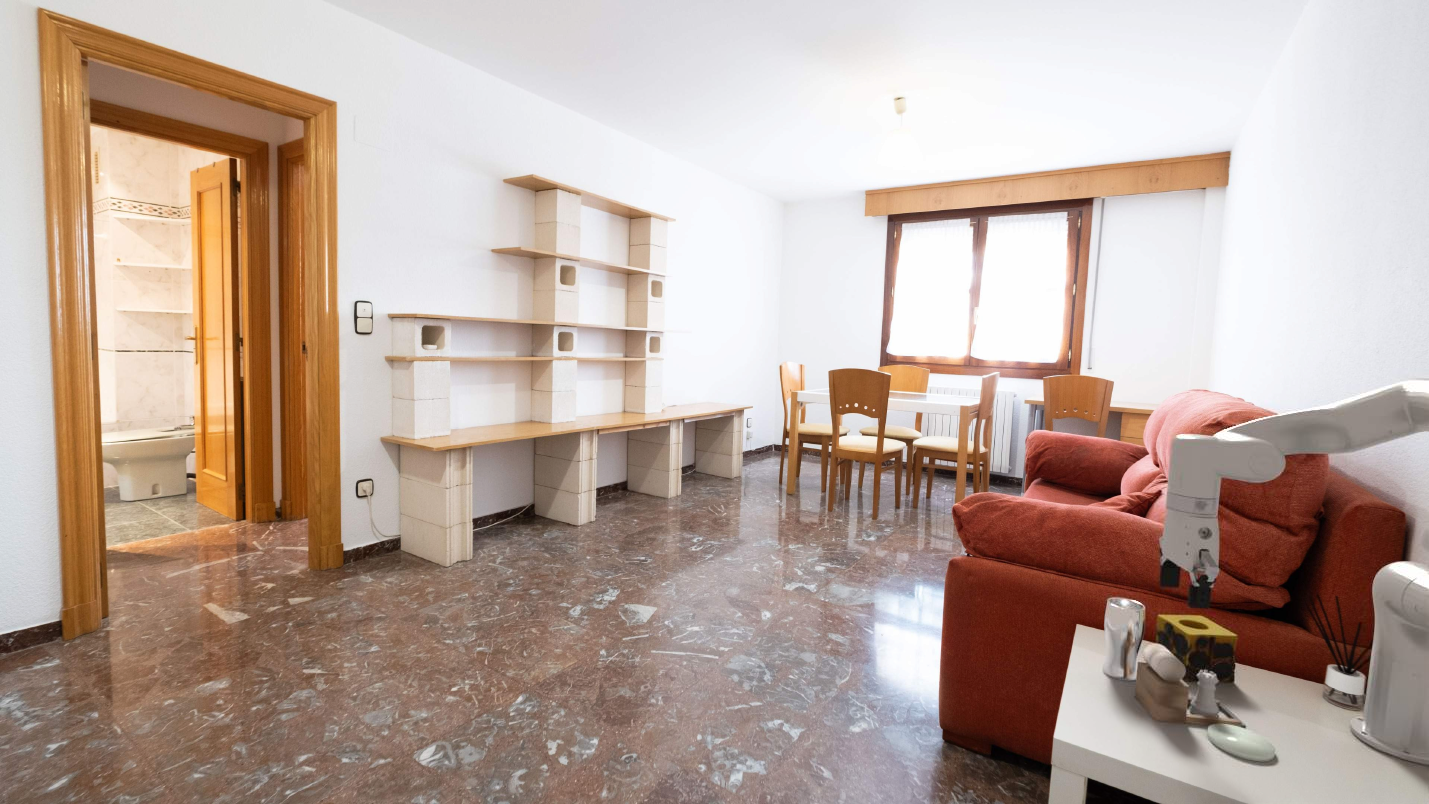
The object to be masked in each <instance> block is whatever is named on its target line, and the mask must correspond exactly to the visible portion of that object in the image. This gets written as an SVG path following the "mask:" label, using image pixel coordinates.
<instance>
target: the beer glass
mask: <svg viewBox="0 0 1429 804" xmlns="http://www.w3.org/2000/svg"><path fill="white" fill-rule="evenodd" d="M1106 601H1107V603H1106V607H1105V614H1104V624H1103V626H1104V637H1105V639H1104V640H1105V647H1106V656H1105V660H1104V663H1103V665H1102V666H1103V667H1102V671H1103V673H1105V674H1106V675H1107V676H1108V677H1110V678H1113V679H1115V680H1119V681H1122V682H1134V681H1135V682H1136V677H1137V662H1138V661H1137V660H1138V656H1139V652H1140V649H1141V646H1142V643H1143V639H1144V636H1145V629H1146V606H1145V605H1144V604H1143V603H1141V602H1139V601H1137V600H1133V599H1131V598H1127V597H1117V596H1116V597H1114V596H1113V597H1109V598H1107V600H1106Z"/></svg>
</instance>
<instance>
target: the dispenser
mask: <svg viewBox="0 0 1429 804" xmlns="http://www.w3.org/2000/svg"><path fill="white" fill-rule="evenodd" d="M1142 656H1143V659H1144V662H1143V661H1142V662H1141V661H1137V665H1136V667H1137V677H1136V680H1135V688H1134V690H1135V692H1134V698H1135V699H1136V701H1138V702H1139V703H1140V705H1141V706H1142V707H1143V708H1144V709H1145V710H1146V712H1147V713H1148V714H1149V715H1150V717H1152V719H1153V720H1154V721H1157V722H1167V723H1176V724H1177V723H1178V724H1185V725H1186V724H1191V725H1192V724H1193V725H1202V726H1210V725H1213V724H1229V725H1234V726H1238V727H1241V728H1244V729H1247V725H1246V724H1245V723H1244V722H1243V721H1242V720H1241V719H1240V718H1239V717H1237V716H1236V715H1235V714H1234V713H1233V712H1232V711H1231V710H1230V709H1229V708H1228V707H1226V706H1225V704H1223V702H1220V701H1219V700H1218V699H1216V698H1215V703H1216V704H1217V707H1218V709H1219V711H1221V712H1222V713H1223V714H1224V715H1225V716H1226V717H1220V716H1219V717H1212V716H1202V715H1194V714H1193V713H1187V712H1188V706H1189V707H1190V706H1191V704H1190V703H1191V701H1192V700H1193V699H1194V697H1195V696H1189V693H1190V686H1189V684H1188V683H1186V682H1185V680H1184V679H1182V678H1183V677H1184V675H1185V672H1186V669H1185V666H1184V664H1183V663H1182V662H1181V661H1180V660H1178V659H1177V658H1176V657H1175V656H1174V655H1173V654H1172V653H1171V652H1170V651H1169V650H1168V649H1166V648H1165V647H1164V646H1163V645H1161V644H1156V643H1151V644H1149V645H1147V646H1146V647H1145V648H1144V649H1143V652H1142Z"/></svg>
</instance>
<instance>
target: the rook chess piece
mask: <svg viewBox="0 0 1429 804" xmlns="http://www.w3.org/2000/svg"><path fill="white" fill-rule="evenodd" d="M1213 673H1214V672H1211V671H1210V673H1207V670H1204V672H1203V670H1200V671H1199V673H1198V674H1197V677H1198V679H1199V682H1198V681H1197V683H1196V684H1197V686H1198V687H1197V691H1196V696H1193V697H1194V699H1193V700H1192V701H1191V703H1190V704H1191V706H1189V707H1188V709H1189V711H1190V712H1191V714H1193V715H1202V716H1212V717H1220V714H1219V713H1220V709H1218V707H1217V704H1216V703H1215V699H1216V698H1215V692H1216V690H1217V687H1216V684H1218V683H1219V680H1218V679H1217V678H1216V677H1217V675H1216V674H1214V675H1213Z"/></svg>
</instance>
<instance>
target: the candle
mask: <svg viewBox="0 0 1429 804" xmlns="http://www.w3.org/2000/svg"><path fill="white" fill-rule="evenodd" d="M1155 637H1156V638H1155V639H1156V641H1155V644H1161V645H1163V646H1164V647H1165V648H1166V649H1168V650H1169V651H1170V652H1171V653H1172V654H1173V655H1174V656H1175V657H1176V658H1177V659H1178V660H1180V661H1181V662H1182V663H1183V664H1184V666H1185V669H1186V672H1185V675H1184V677H1183V678H1182V680H1183V681H1187V682H1197V683H1198V682H1199V679H1198V677H1197V674H1198V673H1199V671H1200V670H1203V672H1204V670H1207V673H1210V671H1211V672H1214V673H1213V675H1214V674H1216V675H1217V677H1216V678H1217V679H1218V680H1219V682H1221V683H1235V682H1236V681H1235V680H1236V679H1235V677H1236V675H1235V674H1236V672H1235V671H1236V667H1237V666H1236V660H1235V650H1236V648H1237V643H1238V639H1239V638H1238V635H1237V634H1235V633H1234V632H1231V631H1230V630H1229V629H1227V628H1224V627H1223V626H1221V625H1219V624H1217V623H1215V622H1214V621H1212V620H1210V619H1209V618H1207V617H1205V616H1202V615H1193V614H1178V615H1177V614H1157V617H1156V636H1155ZM1219 682H1218V683H1219Z"/></svg>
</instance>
